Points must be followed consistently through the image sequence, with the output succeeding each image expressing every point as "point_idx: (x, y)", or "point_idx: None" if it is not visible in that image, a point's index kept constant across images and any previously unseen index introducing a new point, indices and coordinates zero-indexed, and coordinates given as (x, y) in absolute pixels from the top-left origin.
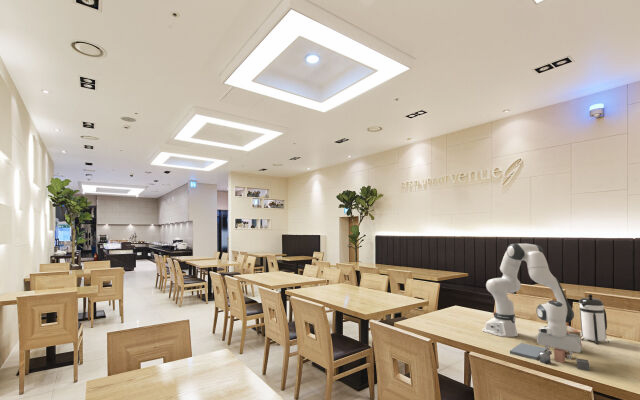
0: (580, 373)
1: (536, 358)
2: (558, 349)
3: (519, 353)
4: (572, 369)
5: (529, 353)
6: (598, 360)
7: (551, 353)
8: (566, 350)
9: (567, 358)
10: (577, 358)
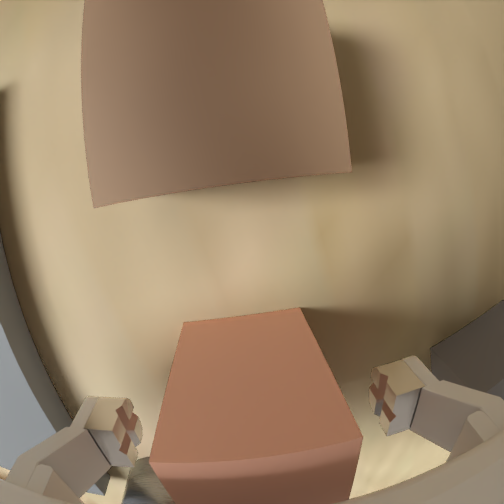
0: (436, 457)
1: (104, 485)
2: (250, 499)
3: (3, 465)
4: (395, 452)
5: (12, 444)
6: (493, 2)
7: (129, 418)
8: (287, 65)
9: (370, 398)
10: (488, 391)
